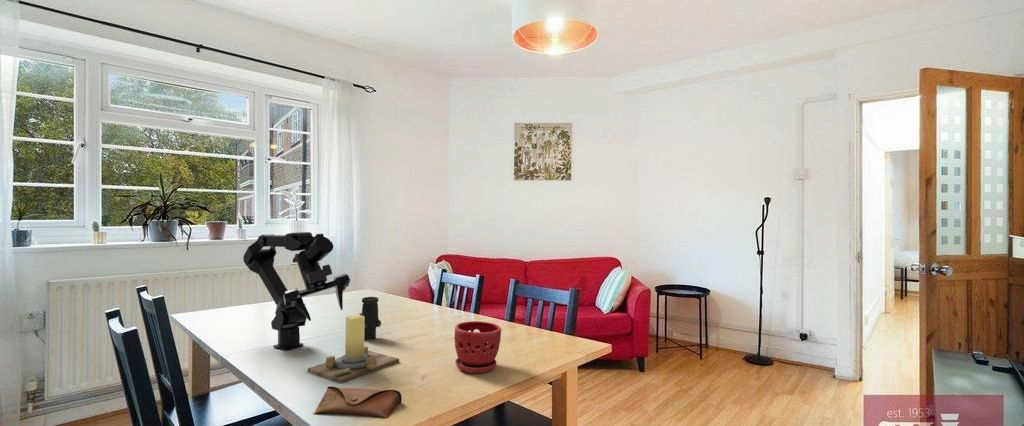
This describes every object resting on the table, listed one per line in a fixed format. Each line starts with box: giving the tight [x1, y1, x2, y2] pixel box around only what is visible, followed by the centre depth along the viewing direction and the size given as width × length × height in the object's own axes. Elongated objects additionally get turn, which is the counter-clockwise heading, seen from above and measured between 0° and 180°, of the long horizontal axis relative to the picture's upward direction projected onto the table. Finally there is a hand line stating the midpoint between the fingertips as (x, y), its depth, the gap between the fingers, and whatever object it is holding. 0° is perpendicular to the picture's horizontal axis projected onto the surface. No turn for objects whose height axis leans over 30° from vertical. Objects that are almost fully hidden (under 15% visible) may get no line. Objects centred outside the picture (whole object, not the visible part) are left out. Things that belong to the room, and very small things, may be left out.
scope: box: [358, 296, 382, 341], centre depth 160 cm, size 8×14×10 cm
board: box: [307, 346, 400, 384], centre depth 130 cm, size 15×20×4 cm
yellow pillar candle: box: [341, 314, 368, 364], centre depth 130 cm, size 7×7×12 cm
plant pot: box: [454, 320, 502, 374], centre depth 131 cm, size 13×13×12 cm
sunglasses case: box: [312, 385, 403, 419], centre depth 104 cm, size 18×7×7 cm
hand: (326, 315), depth 138 cm, fingers open, 9 cm apart
